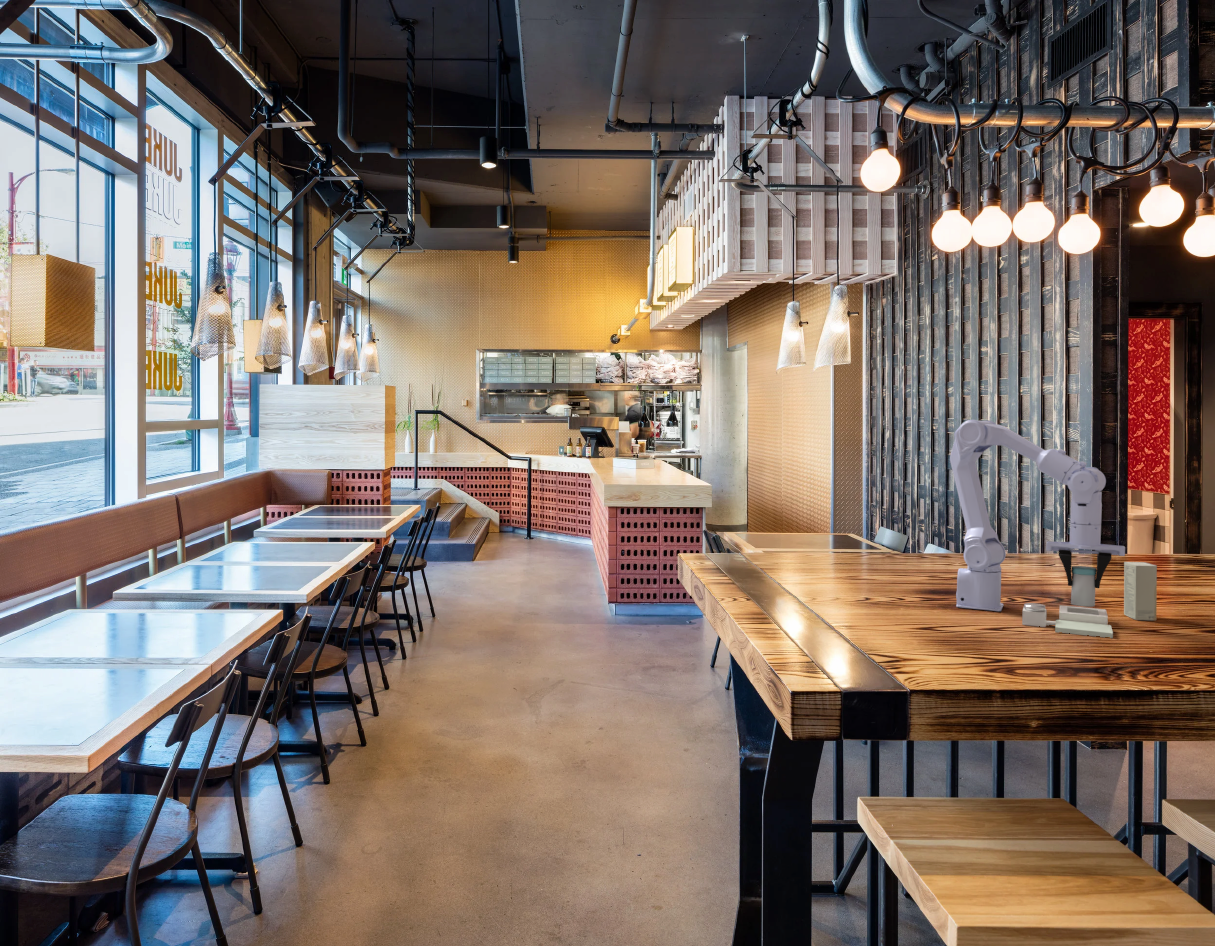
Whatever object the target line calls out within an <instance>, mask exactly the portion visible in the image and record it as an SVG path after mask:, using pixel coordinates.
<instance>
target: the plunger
mask: <svg viewBox="0 0 1215 946" xmlns="http://www.w3.org/2000/svg"><path fill="white" fill-rule="evenodd" d="M1023 607H1024V609H1025V610H1028V611H1036V612H1043V611H1045V609H1046V605H1045V604H1041V603H1035V602H1027V603H1024V605H1023Z"/></svg>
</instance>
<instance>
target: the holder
mask: <svg viewBox="0 0 1215 946" xmlns="http://www.w3.org/2000/svg"><path fill="white" fill-rule="evenodd" d="M1058 615H1059V616H1058V617H1059V618H1058V620H1064V621H1074V622H1084V623H1093V624H1103V625H1109V624H1108V623H1109V622H1108V619H1109V617H1108V613H1107V609H1104V608H1103V609H1102V608H1093V607H1085V606H1075V605H1060V604H1059V611H1058ZM1021 617H1022V622H1021V624H1022V626H1031V627H1039V626H1040V627H1039V628H1046V627H1047V626H1049V625H1056V620H1047V609H1046V608H1045V611H1043V612H1036V611H1028V610H1025V609H1024V606H1023V608H1022V615H1021Z"/></svg>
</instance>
